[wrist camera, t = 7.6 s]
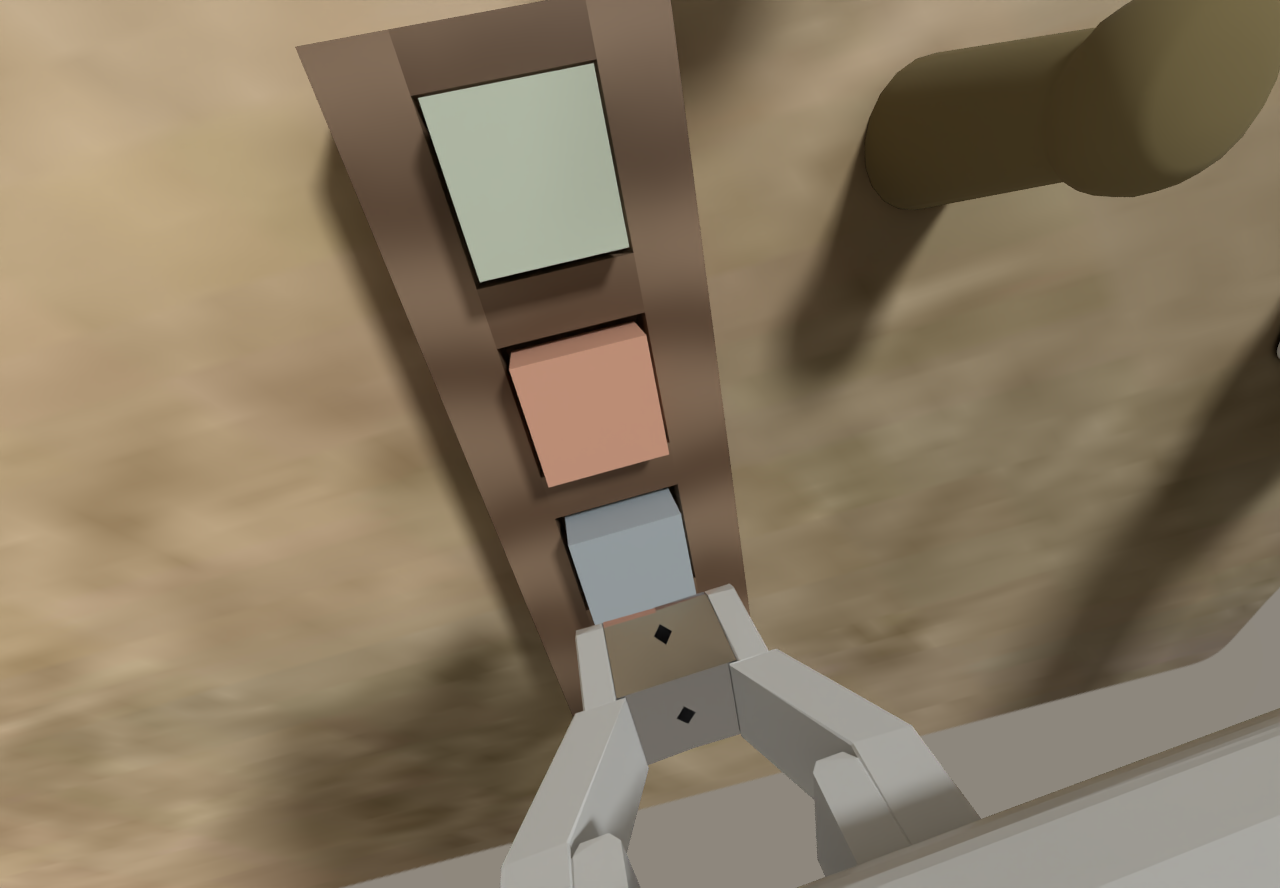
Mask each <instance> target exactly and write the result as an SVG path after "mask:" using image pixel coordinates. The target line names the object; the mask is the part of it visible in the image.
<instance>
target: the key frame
mask: <svg viewBox="0 0 1280 888" xmlns="http://www.w3.org/2000/svg"><path fill="white" fill-rule="evenodd" d="M296 50H297V52H298V55H299V57H300V59H301V62H302V64H303V67H304V69H305V71H306V74H307V76H308V79H309V81H310V84H311V86H312V88H313V91H314V93H315V96H316V98H317V100H318V103H319V105H320V108H321V110H322V112H323V115H324V117H325V120H326V122H327V125H328V127H329V129H330V132H331V134H332V137H333V139H334V141H335V144H336V146H337V149H338V151H339V153H340V156H341V158H342V161H343V163H344V166H345V168H346V170H347V173H348V175H349V178H350V180H351V182H352V185H353V187H354V190H355V192H356V194H357V197H358V199H359V202H360V204H361V206H362V209H363V211H364V214H365V216H366V219H367V221H368V223H369V226H370V228H371V231H372V233H373V235H374V238H375V240H376V243H377V245H378V247H379V250H380V252H381V255H382V257H383V260H384V262H385V264H386V267H387V269H388V272H389V274H390V276H391V279H392V281H393V284H394V286H395V288H396V291H397V293H398V296H399V298H400V301H401V303H402V305H403V308H404V310H405V313H406V315H407V317H408V320H409V322H410V325H411V327H412V329H413V332H414V334H415V337H416V339H417V342H418V344H419V346H420V349H421V351H422V354H423V356H424V358H425V361H426V363H427V366H428V368H429V370H430V373H431V375H432V378H433V380H434V383H435V385H436V387H437V390H438V392H439V395H440V397H441V399H442V402H443V404H444V407H445V409H446V411H447V414H448V416H449V419H450V421H451V424H452V426H453V428H454V431H455V433H456V436H457V438H458V440H459V443H460V445H461V448H462V450H463V452H464V455H465V457H466V460H467V462H468V464H469V467H470V469H471V472H472V474H473V477H474V479H475V481H476V484H477V486H478V489H479V491H480V493H481V496H482V498H483V501H484V503H485V505H486V508H487V510H488V513H489V515H490V518H491V520H492V522H493V525H494V527H495V530H496V532H497V534H498V537H499V539H500V542H501V544H502V546H503V549H504V551H505V554H506V556H507V559H508V561H509V563H510V566H511V568H512V571H513V573H514V575H515V578H516V580H517V583H518V585H519V587H520V590H521V592H522V595H523V597H524V600H525V602H526V604H527V607H528V609H529V612H530V614H531V616H532V619H533V621H534V624H535V626H536V628H537V631H538V633H539V636H540V638H541V641H542V643H543V645H544V648H545V650H546V653H547V655H548V657H549V660H550V662H551V665H552V667H553V669H554V672H555V674H556V677H557V679H558V681H559V684H560V686H561V689H562V691H563V694H564V696H565V698H566V701H567V703H568V706H569V708H570V710H571V713H572V715H573V717H574V715H575V714H576V713H579V712H581V711H583V704H582V695H581V686H580V677H579V668H578V659H577V650H576V641H575V636H576V630H580V629H583V628H587V627H590V626H594V625H595V624H594V621H593V618H592V615H591V612H590V609H589V606H588V603H587V600H586V597H585V594H584V591H583V588H582V585H581V582H580V579H579V576H578V573H577V570H576V567H575V564H574V561H573V558H572V555H571V552H570V549H569V546H568V539H567V530H566V521H565V516H567V515H570V514H574V513H577V512H581V511H584V510H588V509H591V508H595V507H598V506H602V505H606V504H609V503H613V502H616V501H620V500H623V499H627V498H630V497H634V496H638V495H641V494H645V493H648V492H652V491H655V490H659V489H662V488H666V487H668V489H669V491H670V493H671V495H672V497H673V499H674V501H675V503H676V505H677V507H678V509H679V511H680V513H681V517H682V523H683V528H684V533H685V538H686V543H687V548H688V554H689V559H690V564H691V569H692V574H693V579H694V585H695V590H696V594H698V593H701V592H704V593H705V591H708V590H711V589H714V588H717V587H720V586H723V585H727V584H731V585H732V586H733V587H734V589H735V590H736V592H737V594H738V596H739V598H740V599H741V601H742V603H743V605H744V607H745V609H746V610H747V612H748V614H749V616H750V612H749V605H748V597H747V589H746V581H745V574H744V566H743V558H742V550H741V542H740V535H739V527H738V519H737V511H736V504H735V496H734V488H733V480H732V473H731V465H730V457H729V449H728V441H727V434H726V426H725V418H724V410H723V403H722V395H721V387H720V379H719V371H718V364H717V356H716V348H715V340H714V333H713V325H712V317H711V309H710V302H709V294H708V286H707V278H706V270H705V263H704V255H703V247H702V239H701V232H700V224H699V216H698V208H697V201H696V193H695V185H694V177H693V169H692V162H691V154H690V146H689V138H688V131H687V123H686V115H685V107H684V99H683V92H682V84H681V76H680V68H679V61H678V53H677V45H676V37H675V30H674V22H673V14H672V6H671V0H545V1H540V2H535V3H529V4H524V5H518V6H513V7H508V8H502V9H497V10H491V11H486V12H481V13H475V14H470V15H464V16H459V17H454V18H448V19H443V20H437V21H432V22H427V23H421V24H416V25H410V26H405V27H400V28H394V29H389V30H383V31H378V32H373V33H367V34H362V35H356V36H351V37H346V38H340V39H335V40H329V41H324V42H319V43H313V44H308V45H302V46H297V47H296ZM592 63H594V67H595V72H596V78H597V83H598V88H599V93H600V98H601V104H602V109H603V114H604V119H605V124H606V129H607V135H608V140H609V145H610V150H611V155H612V160H613V166H614V171H615V176H616V181H617V186H618V191H619V197H620V202H621V207H622V212H623V217H624V223H625V228H626V233H627V238H628V243H629V247H628V248H624V249H620V250H615V251H611V252H607V253H602V254H598V255H594V256H590V257H585V258H581V259H577V260H573V261H568V262H564V263H560V264H556V265H551V266H547V267H543V268H539V269H534V270H530V271H526V272H521V273H517V274H513V275H509V276H504V277H500V278H496V279H492V280H487V281H483V282H480V281H479V278H478V275H477V272H476V269H475V266H474V263H473V260H472V257H471V254H470V251H469V248H468V245H467V243H466V240H465V237H464V234H463V231H462V228H461V225H460V222H459V219H458V216H457V213H456V210H455V207H454V204H453V201H452V198H451V195H450V192H449V189H448V186H447V183H446V180H445V177H444V174H443V171H442V168H441V165H440V162H439V159H438V156H437V153H436V150H435V147H434V144H433V141H432V138H431V135H430V132H429V129H428V126H427V123H426V120H425V117H424V114H423V111H422V108H421V105H420V102H419V99H418V98H421V97H426V96H431V95H436V94H441V93H446V92H451V91H456V90H461V89H466V88H471V87H476V86H481V85H486V84H491V83H496V82H501V81H506V80H511V79H516V78H521V77H526V76H531V75H536V74H542V73H547V72H552V71H557V70H562V69H567V68H572V67H577V66H582V65H587V64H592ZM630 321H634V322H635V323H636V324H637V325H638V326H639V328H640V329H641V330H642V331H643V332H644V333H645V334H646V336H647V341H648V347H649V352H650V357H651V362H652V367H653V373H654V378H655V383H656V388H657V393H658V398H659V404H660V409H661V414H662V419H663V424H664V429H665V435H666V440H667V445H668V450H669V455H665V456H662V457H658V458H654V459H651V460H647V461H643V462H640V463H636V464H633V465H629V466H625V467H622V468H618V469H614V470H611V471H607V472H604V473H600V474H596V475H593V476H589V477H585V478H582V479H578V480H574V481H571V482H567V483H564V484H560V485H556V486H553V487H548V484H547V481H546V478H545V475H544V472H543V469H542V466H541V463H540V460H539V457H538V454H537V451H536V448H535V445H534V442H533V439H532V436H531V433H530V430H529V427H528V424H527V421H526V418H525V415H524V412H523V409H522V406H521V403H520V400H519V397H518V394H517V392H516V389H515V386H514V383H513V380H512V377H511V374H510V371H509V366H510V358H511V351H513V350H517V349H521V348H525V347H530V346H534V345H538V344H542V343H546V342H550V341H554V340H558V339H562V338H566V337H570V336H574V335H578V334H582V333H586V332H590V331H594V330H598V329H602V328H606V327H610V326H614V325H618V324H622V323H626V322H630Z"/></svg>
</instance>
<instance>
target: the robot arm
mask: <svg viewBox="0 0 1280 888" xmlns="http://www.w3.org/2000/svg"><path fill="white" fill-rule="evenodd" d="M1277 355H1278V357H1279V358H1280V343H1279V345H1278V348H1277ZM575 641H576V650H577V659H578V668H579V677H580V686H581V695H582V704H583V711H581V712H579V713H576V714H575V715H574V717H573V719H572V721H571V723H570V725H569V727H568V729H567V731H566V733H565V735H564V737H563V740H562V742H561V744H560V746H559V748H558V750H557V752H556V754H555V756H554V758H553V760H552V762H551V764H550V767H549V769H548V771H547V773H546V775H545V777H544V779H543V781H542V783H541V785H540V787H539V789H538V791H537V793H536V796H535V798H534V800H533V802H532V804H531V806H530V808H529V810H528V812H527V814H526V816H525V818H524V820H523V823H522V825H521V827H520V829H519V831H518V833H517V835H516V837H515V839H514V841H513V843H512V846H511V847H510V850H509V852H508V854H507V856H506V858H505V860H504V862H503V864H502V866H501V881H500V888H640V886H639V883H638V880H637V878H636V876H635V873H634V871H633V869H632V866H631V864H630V861H629V859H628V856H627V854H626V853H627V850H628V845H629V841H630V838H631V834H632V830H633V826H634V822H635V819H636V815H637V811H638V807H639V803H640V800H641V796H642V792H643V788H644V784H645V780H646V776H647V773H648V769H649V768H648V765H649V764H652V763H655V762H657V761H660V760H663V759H665V758H668V757H671V756H673V755H676V754H679V753H682V752H684V751H687V750H690V749H692V748H695V747H699V746H702V745H705V744H708V743H712V742H715V741H718V740H722V739H725V738H728V737H731V736H735V735H738V734H741V736H742V737H743V738H744V739H745V740H746V741H747V742H749V743H750V744H751V745H752V746H753V747H754V748H755V749H757V750H758V751H759V752H760V753H761V754H762V755H763V756H765V757H766V758H767V759H768V760H769V761H770V762H772V763H773V764H774V765H775V766H776V767H777V768H778V769H780V770H781V771H782V772H783V773H784V774H785V775H787V776H788V777H789V778H790V779H791V780H792V781H793V782H794V783H796V784H797V785H798V786H799V787H800V788H801V789H802V790H804V791H805V792H806V793H807V794H808V795H809V796H811V797H812V798H813V799H814V801H815V820H816V839H817V856H818V857H817V858H818V861H819V863H820V866H821V868H822V870H823V873H824V875H825V877H824V878H822V879H819V880H816V881H814V882H811V883H808V884H806V885H803V886H800V887H797V888H1280V708H1279V709H1276V710H1274V711H1271V712H1268V713H1265V714H1263V715H1260V716H1257V717H1255V718H1252V719H1249V720H1246V721H1244V722H1241V723H1238V724H1236V725H1233V726H1230V727H1228V728H1225V729H1223V730H1220V731H1217V732H1214V733H1211V734H1209V735H1206V736H1204V737H1201V738H1198V739H1195V740H1193V741H1190V742H1187V743H1185V744H1182V745H1179V746H1177V747H1174V748H1171V749H1168V750H1166V751H1163V752H1160V753H1158V754H1155V755H1152V756H1150V757H1147V758H1144V759H1142V760H1139V761H1136V762H1134V763H1131V764H1128V765H1126V766H1123V767H1120V768H1118V769H1115V770H1112V771H1109V772H1107V773H1104V774H1101V775H1099V776H1096V777H1093V778H1091V779H1088V780H1085V781H1082V782H1080V783H1077V784H1074V785H1072V786H1069V787H1067V788H1064V789H1061V790H1058V791H1056V792H1053V793H1050V794H1048V795H1045V796H1042V797H1039V798H1037V799H1034V800H1031V801H1029V802H1026V803H1023V804H1021V805H1018V806H1015V807H1012V808H1010V809H1007V810H1005V811H1002V812H999V813H996V814H994V815H991V816H988V817H986V818H983V819H981V818H980V817H979V815H978V814H977V813H976V811H975V810H974V809H973V808H972V806H971V805H970V803H969V802H968V801H967V799H966V798H965V797H964V795H963V794H962V793H961V791H960V790H959V788H958V787H957V786H956V784H955V783H954V782H953V780H952V779H951V778H950V776H949V775H948V774H947V772H946V771H945V770H944V768H943V767H942V766H941V764H940V763H939V761H938V760H937V759H936V758H935V756H934V755H933V753H932V752H931V751H930V749H929V748H928V747H927V745H926V744H925V743H924V741H923V740H922V739H921V737H920V736H919V734H918V733H917V732H916V730H915V729H914V728H913V726H912V725H910V724H908V723H907V722H905V721H903V720H901V719H899V718H898V717H896V716H894V715H892V714H891V713H889V712H887V711H885V710H884V709H882V708H880V707H878V706H877V705H875V704H873V703H871V702H870V701H868V700H866V699H864V698H863V697H861V696H859V695H857V694H856V693H854V692H852V691H850V690H849V689H847V688H845V687H843V686H842V685H840V684H838V683H836V682H834V681H833V680H831V679H829V678H827V677H826V676H824V675H822V674H820V673H819V672H817V671H815V670H813V669H812V668H810V667H808V666H806V665H805V664H803V663H801V662H799V661H798V660H796V659H794V658H792V657H791V656H789V655H787V654H785V653H784V652H782V651H780V650H778V649H774V650H770V651H769V650H768V649H767V647H766V645H765V643H764V641H763V640H762V638H761V636H760V634H759V632H758V630H757V629H756V627H755V625H754V623H753V621H752V620H751V618H750V616H749V614H748V612H747V610H746V609H745V607H744V605H743V603H742V601H741V599H740V598H739V596H738V594H737V592H736V590H735V589H734V587H733V586H732V585H731V584H727V585H723V586H720V587H717V588H714V589H711V590H708V591H705V593H704V592H701V593H698V594H695V595H692V596H689V597H686V598H683V599H679V600H676V601H673V602H670V603H667V604H664V605H661V606H657V607H654V608H653V609H649V610H645V611H642V612H638V613H635V614H631V615H628V616H624V617H620V618H617V619H613V620H610V621H606V622H603V623H601V624H598V625H594V626H590V627H587V628H583V629H580V630H576V636H575ZM693 745H694V746H693Z"/></svg>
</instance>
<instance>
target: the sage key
mask: <svg viewBox="0 0 1280 888" xmlns="http://www.w3.org/2000/svg"><path fill="white" fill-rule="evenodd" d="M418 99H419V102H420V105H421V108H422V111H423V114H424V117H425V120H426V123H427V126H428V129H429V132H430V135H431V138H432V141H433V144H434V147H435V150H436V153H437V156H438V159H439V162H440V165H441V168H442V171H443V174H444V177H445V180H446V183H447V186H448V189H449V192H450V195H451V198H452V201H453V204H454V207H455V210H456V213H457V216H458V219H459V222H460V225H461V228H462V231H463V234H464V237H465V240H466V243H467V245H468V248H469V251H470V254H471V257H472V260H473V263H474V266H475V269H476V272H477V275H478V278H479V281H480V282H483V281H487V280H492V279H496V278H500V277H504V276H509V275H513V274H517V273H521V272H526V271H530V270H534V269H539V268H543V267H547V266H551V265H556V264H560V263H564V262H568V261H573V260H577V259H581V258H585V257H590V256H594V255H598V254H602V253H607V252H611V251H615V250H620V249H624V248H628V247H629V243H628V238H627V233H626V228H625V223H624V217H623V212H622V207H621V202H620V197H619V191H618V186H617V181H616V176H615V171H614V166H613V160H612V155H611V150H610V145H609V140H608V135H607V129H606V124H605V119H604V114H603V109H602V104H601V98H600V93H599V88H598V83H597V78H596V72H595V67H594V63H592V64H587V65H582V66H577V67H572V68H567V69H562V70H557V71H552V72H547V73H542V74H536V75H531V76H526V77H521V78H516V79H511V80H506V81H501V82H496V83H491V84H486V85H481V86H476V87H471V88H466V89H461V90H456V91H451V92H446V93H441V94H436V95H431V96H426V97H421V98H418Z"/></svg>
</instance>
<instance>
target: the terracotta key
mask: <svg viewBox="0 0 1280 888" xmlns="http://www.w3.org/2000/svg"><path fill="white" fill-rule="evenodd" d="M509 371H510V374H511V377H512V380H513V383H514V386H515V389H516V392H517V394H518V397H519V400H520V403H521V406H522V409H523V412H524V415H525V418H526V421H527V424H528V427H529V430H530V433H531V436H532V439H533V442H534V445H535V448H536V451H537V454H538V457H539V460H540V463H541V466H542V469H543V472H544V475H545V478H546V481H547V484H548V487H553V486H556V485H560V484H564V483H567V482H571V481H574V480H578V479H582V478H585V477H589V476H593V475H596V474H600V473H604V472H607V471H611V470H614V469H618V468H622V467H625V466H629V465H633V464H636V463H640V462H643V461H647V460H651V459H654V458H658V457H662V456H665V455H669V450H668V445H667V440H666V435H665V429H664V424H663V419H662V414H661V409H660V404H659V398H658V393H657V388H656V383H655V378H654V373H653V367H652V362H651V357H650V352H649V347H648V341H647V336H646V334H645V333H644V332H643V331H642V330H641V329H640V328H639V326H638V325H637V324H636V323H635V322H634V321H630V322H626V323H622V324H618V325H614V326H610V327H606V328H602V329H598V330H594V331H590V332H586V333H582V334H578V335H574V336H570V337H566V338H562V339H558V340H554V341H550V342H546V343H542V344H538V345H534V346H530V347H525V348H521V349H517V350H513V351H511V358H510V366H509Z"/></svg>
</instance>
